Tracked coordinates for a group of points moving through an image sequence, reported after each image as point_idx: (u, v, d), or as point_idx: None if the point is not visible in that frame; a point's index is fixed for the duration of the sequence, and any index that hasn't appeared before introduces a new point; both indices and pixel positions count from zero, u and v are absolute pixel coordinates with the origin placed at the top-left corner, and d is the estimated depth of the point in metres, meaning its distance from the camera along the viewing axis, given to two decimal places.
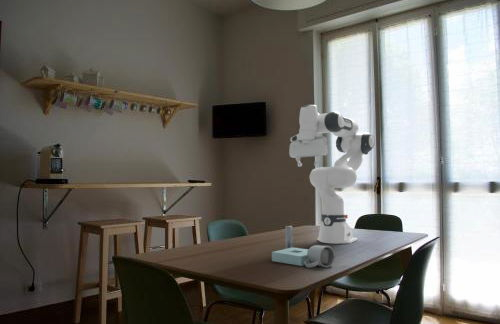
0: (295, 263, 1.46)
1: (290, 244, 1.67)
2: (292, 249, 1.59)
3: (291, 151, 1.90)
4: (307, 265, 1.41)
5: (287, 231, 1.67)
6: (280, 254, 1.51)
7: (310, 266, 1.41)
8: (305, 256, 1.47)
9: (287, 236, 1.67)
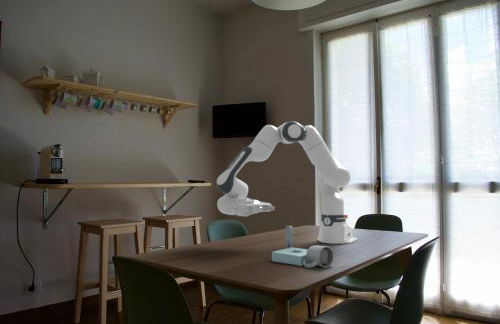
0: (295, 263, 1.46)
1: (290, 244, 1.67)
2: (292, 249, 1.59)
3: (265, 211, 1.87)
4: (306, 265, 1.41)
5: (287, 231, 1.67)
6: (280, 254, 1.51)
7: (309, 266, 1.40)
8: (305, 256, 1.47)
9: (287, 236, 1.67)
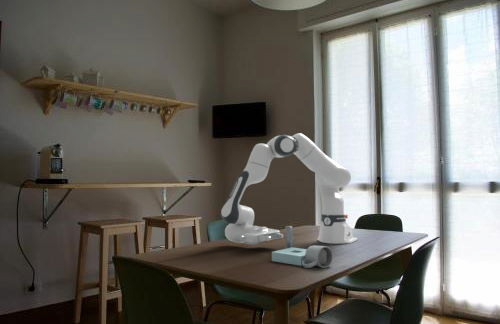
0: (295, 263, 1.46)
1: (290, 244, 1.67)
2: (292, 249, 1.59)
3: None
4: (305, 265, 1.41)
5: (287, 231, 1.67)
6: (280, 254, 1.51)
7: (308, 266, 1.40)
8: None
9: (287, 236, 1.67)
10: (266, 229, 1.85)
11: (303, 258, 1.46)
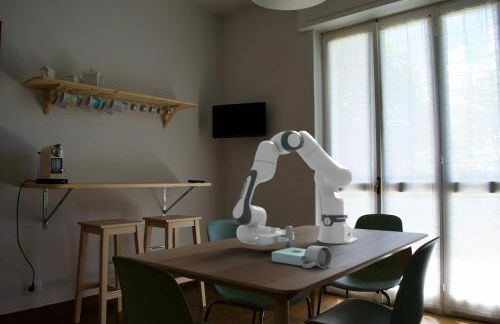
0: (295, 263, 1.46)
1: (290, 244, 1.67)
2: (292, 249, 1.59)
3: None
4: (304, 266, 1.40)
5: (287, 231, 1.67)
6: (280, 254, 1.51)
7: (307, 267, 1.40)
8: None
9: (287, 236, 1.67)
10: (279, 230, 1.79)
11: (303, 258, 1.46)
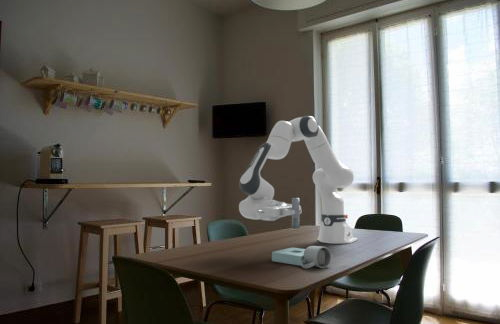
0: (295, 263, 1.46)
1: (297, 217, 1.54)
2: (292, 249, 1.59)
3: None
4: (303, 266, 1.40)
5: (294, 203, 1.54)
6: (280, 254, 1.51)
7: (306, 267, 1.39)
8: None
9: (294, 208, 1.54)
10: (285, 204, 1.67)
11: (303, 258, 1.46)
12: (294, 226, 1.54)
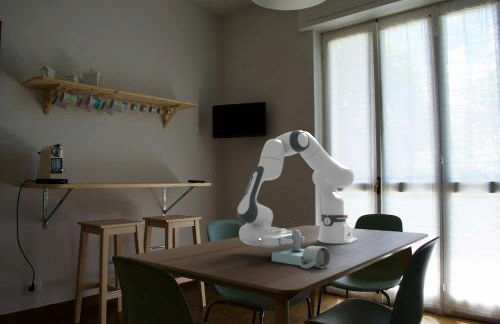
0: (295, 263, 1.46)
1: (297, 249, 1.53)
2: None
3: None
4: (303, 266, 1.40)
5: (294, 235, 1.53)
6: (280, 254, 1.51)
7: (306, 267, 1.39)
8: None
9: (294, 241, 1.54)
10: (285, 231, 1.66)
11: None
12: None
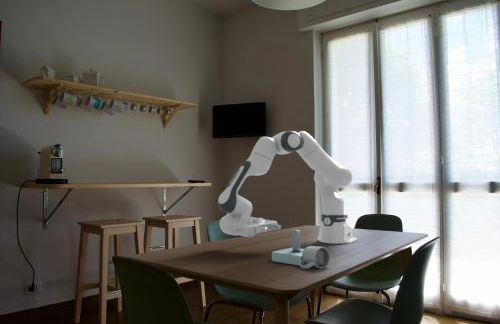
0: (295, 263, 1.46)
1: (297, 249, 1.53)
2: None
3: None
4: (302, 266, 1.39)
5: (294, 235, 1.53)
6: (280, 254, 1.51)
7: (305, 267, 1.39)
8: None
9: (294, 241, 1.54)
10: (262, 220, 1.76)
11: None
12: None
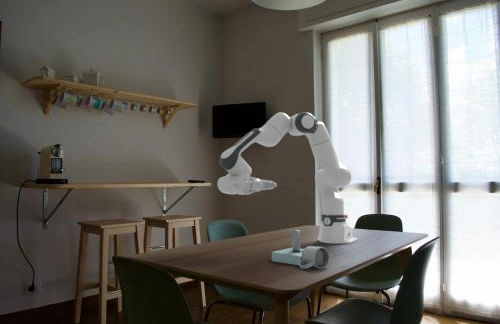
0: (295, 263, 1.46)
1: (297, 249, 1.53)
2: None
3: (267, 189, 1.80)
4: (302, 266, 1.39)
5: (294, 235, 1.53)
6: (280, 254, 1.51)
7: (305, 267, 1.38)
8: None
9: (294, 241, 1.54)
10: (259, 180, 1.81)
11: None
12: None
